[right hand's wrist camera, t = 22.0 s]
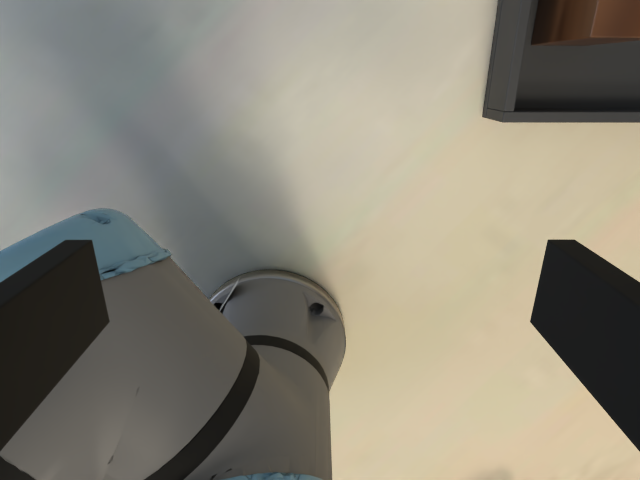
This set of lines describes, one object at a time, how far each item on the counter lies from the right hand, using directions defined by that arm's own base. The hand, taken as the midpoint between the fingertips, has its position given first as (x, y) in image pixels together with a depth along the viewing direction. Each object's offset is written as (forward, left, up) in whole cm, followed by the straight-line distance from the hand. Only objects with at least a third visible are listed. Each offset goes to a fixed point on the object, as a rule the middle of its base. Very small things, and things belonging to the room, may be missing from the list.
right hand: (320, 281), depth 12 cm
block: (+10, -19, -26) cm, 34 cm away
